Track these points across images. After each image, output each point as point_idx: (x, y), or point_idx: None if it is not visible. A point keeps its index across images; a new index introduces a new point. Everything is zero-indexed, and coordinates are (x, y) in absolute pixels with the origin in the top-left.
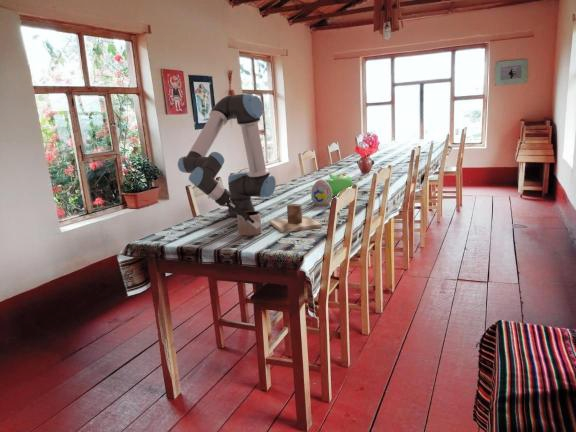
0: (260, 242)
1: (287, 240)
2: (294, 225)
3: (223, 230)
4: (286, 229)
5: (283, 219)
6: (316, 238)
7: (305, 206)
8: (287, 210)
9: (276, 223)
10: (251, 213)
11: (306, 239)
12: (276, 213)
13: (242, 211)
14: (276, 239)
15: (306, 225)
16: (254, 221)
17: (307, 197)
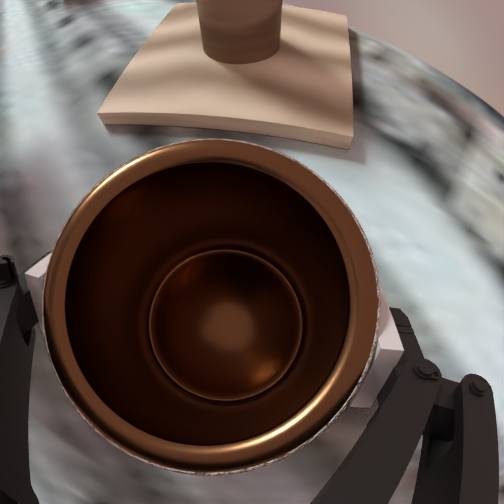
0: (476, 349)
1: (494, 210)
2: (305, 64)
3: (37, 424)
4: (352, 118)
5: (145, 61)
6: (489, 117)
7: (57, 11)
8: (227, 2)
9: (189, 103)
10: (116, 217)
11: (495, 146)
12: (21, 76)
13: (484, 497)
14: (465, 244)
15: (338, 43)
16: (401, 315)
17: (13, 14)
